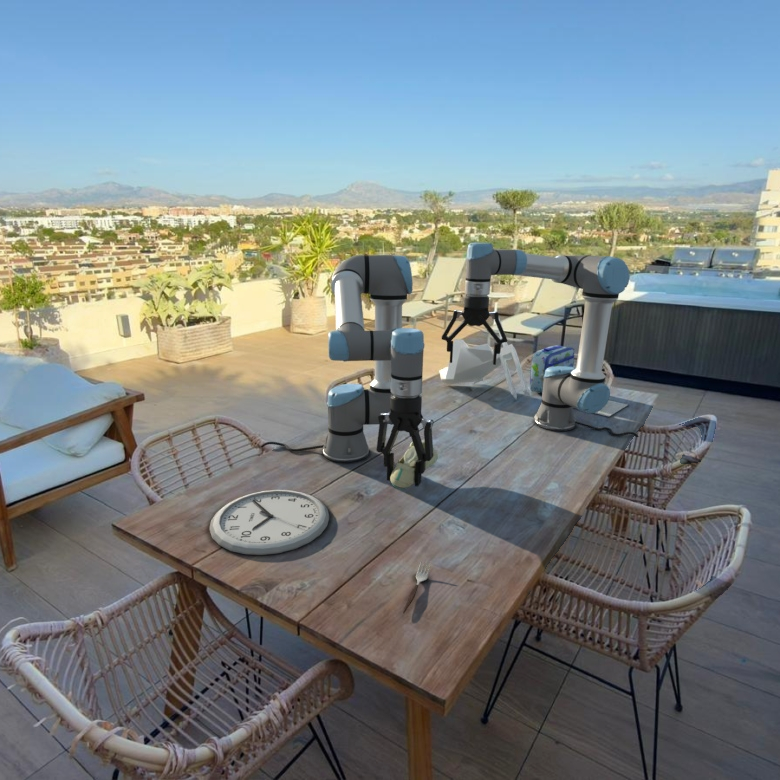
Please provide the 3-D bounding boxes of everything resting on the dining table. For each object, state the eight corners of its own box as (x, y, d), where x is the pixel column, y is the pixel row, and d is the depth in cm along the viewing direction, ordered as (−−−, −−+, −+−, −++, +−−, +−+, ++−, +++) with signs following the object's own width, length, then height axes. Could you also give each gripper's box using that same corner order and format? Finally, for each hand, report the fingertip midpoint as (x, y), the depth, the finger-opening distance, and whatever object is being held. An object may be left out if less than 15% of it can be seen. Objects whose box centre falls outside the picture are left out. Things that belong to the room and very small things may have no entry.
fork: (396, 613, 103) (397, 605, 102) (420, 566, 117) (420, 559, 117) (409, 617, 102) (409, 608, 102) (431, 569, 116) (432, 561, 116)
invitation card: (608, 416, 214) (573, 407, 224) (608, 416, 214) (573, 408, 224) (628, 404, 229) (594, 396, 238) (628, 405, 229) (594, 397, 238)
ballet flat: (443, 454, 148) (444, 428, 146) (418, 494, 126) (418, 464, 124) (415, 450, 151) (415, 425, 149) (385, 489, 129) (385, 459, 127)
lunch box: (546, 398, 236) (551, 353, 229) (525, 393, 243) (529, 349, 237) (573, 387, 253) (579, 344, 247) (553, 382, 260) (558, 341, 254)
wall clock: (327, 546, 121) (194, 551, 119) (327, 552, 122) (195, 557, 119) (330, 485, 150) (223, 488, 147) (330, 490, 150) (224, 493, 148)
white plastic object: (461, 429, 252) (437, 405, 227) (444, 352, 274) (420, 323, 250) (535, 404, 240) (518, 377, 215) (510, 326, 262) (492, 293, 237)
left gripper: (362, 393, 125) (362, 480, 132) (441, 404, 118) (437, 495, 125) (374, 385, 132) (373, 468, 138) (450, 395, 125) (445, 482, 131)
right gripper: (435, 295, 157) (432, 363, 163) (520, 298, 154) (513, 367, 161) (436, 292, 164) (433, 358, 171) (517, 295, 162) (511, 361, 168)
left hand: (403, 481), depth 131 cm, fingers closed on ballet flat, 7 cm apart
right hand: (472, 362), depth 166 cm, fingers open, 13 cm apart
